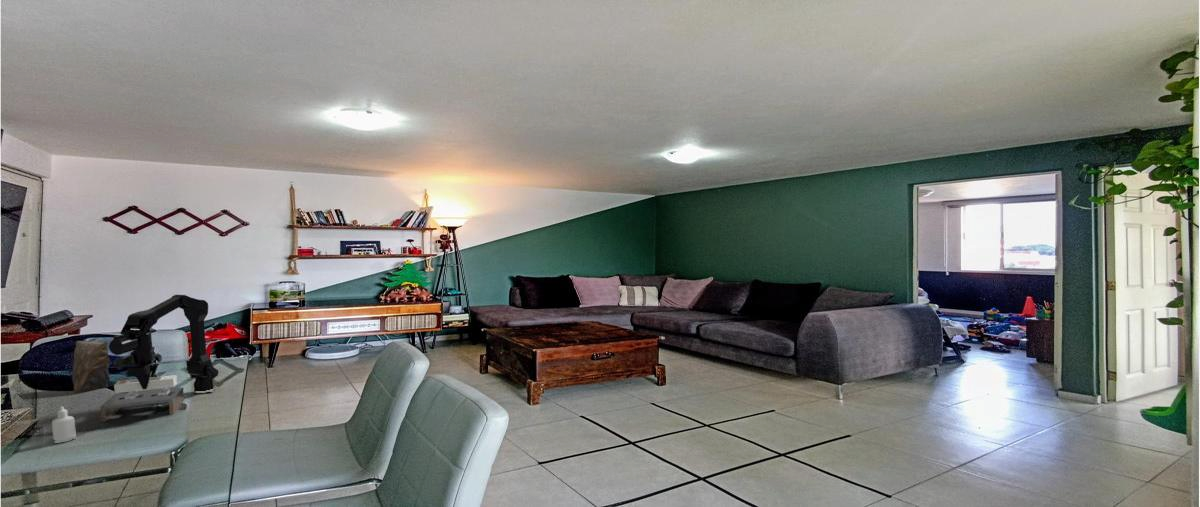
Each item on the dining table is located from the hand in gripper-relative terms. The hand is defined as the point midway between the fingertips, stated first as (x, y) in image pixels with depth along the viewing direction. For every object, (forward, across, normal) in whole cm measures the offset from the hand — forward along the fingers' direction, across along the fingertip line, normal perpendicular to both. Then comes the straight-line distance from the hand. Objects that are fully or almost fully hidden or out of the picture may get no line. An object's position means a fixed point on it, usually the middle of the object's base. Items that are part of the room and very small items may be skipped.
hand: (146, 386), depth 220 cm
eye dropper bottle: (+11, +17, -19) cm, 28 cm away
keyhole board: (+11, -5, -3) cm, 13 cm away
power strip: (+3, 0, 0) cm, 3 cm away
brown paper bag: (+12, -43, -34) cm, 56 cm away
